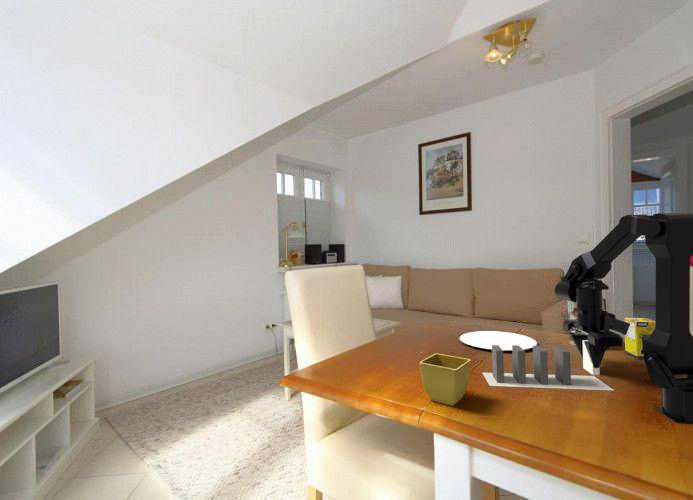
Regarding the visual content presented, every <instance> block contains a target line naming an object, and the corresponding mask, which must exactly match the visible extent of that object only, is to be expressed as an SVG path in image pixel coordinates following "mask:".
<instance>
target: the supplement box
mask: <svg viewBox="0 0 693 500" xmlns="http://www.w3.org/2000/svg"><path fill="white" fill-rule="evenodd" d="M623 321H624V322H627V323H630V326H629V329H628V331H627V334H626V335H624V350H625V351H624V352H625V354H628V355H629V356H631V357H633V358H635V359H636V360H637V359H639V360H644V354H641V351H642V347H643V346H642V336H643V335H644V334H652V332H653V331H654V330H655V327H656V320H653V319H650V318H647V317H624V319H623Z"/></svg>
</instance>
